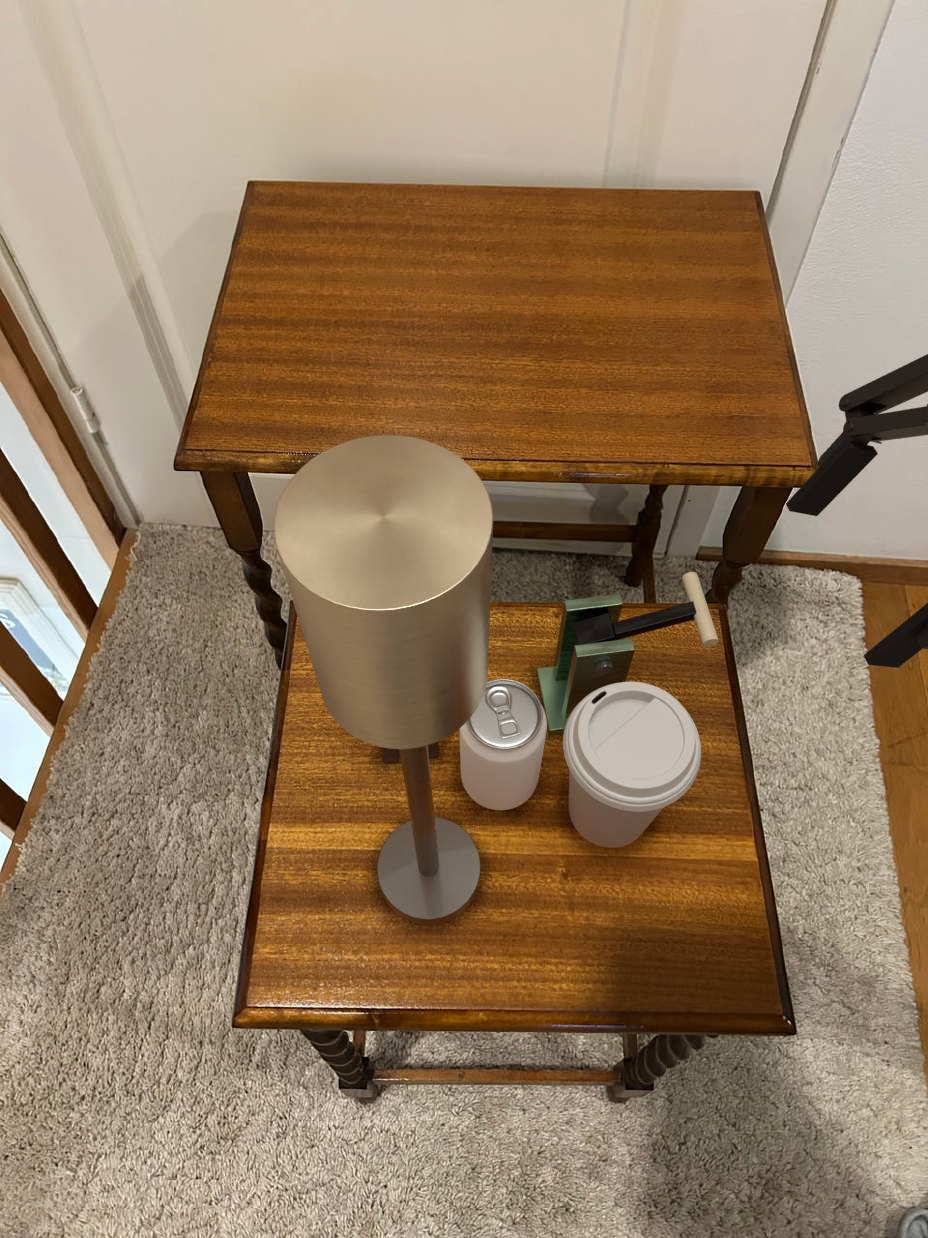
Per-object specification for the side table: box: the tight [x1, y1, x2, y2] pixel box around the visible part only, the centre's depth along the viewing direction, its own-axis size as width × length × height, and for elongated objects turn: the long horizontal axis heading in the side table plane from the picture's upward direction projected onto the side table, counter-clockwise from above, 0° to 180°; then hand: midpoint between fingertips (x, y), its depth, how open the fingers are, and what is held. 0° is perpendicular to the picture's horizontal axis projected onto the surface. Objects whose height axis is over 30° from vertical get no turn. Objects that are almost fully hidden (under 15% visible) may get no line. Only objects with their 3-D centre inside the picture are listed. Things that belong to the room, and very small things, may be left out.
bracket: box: [535, 593, 636, 737], centre depth 76 cm, size 7×6×13 cm
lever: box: [573, 571, 719, 648], centre depth 71 cm, size 10×6×2 cm, turn 98°
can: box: [459, 678, 547, 811], centre depth 73 cm, size 6×6×12 cm
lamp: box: [273, 434, 494, 927], centre depth 54 cm, size 8×8×46 cm
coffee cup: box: [562, 681, 702, 849], centre depth 70 cm, size 10×10×15 cm
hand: (838, 581), depth 65 cm, fingers open, 13 cm apart
